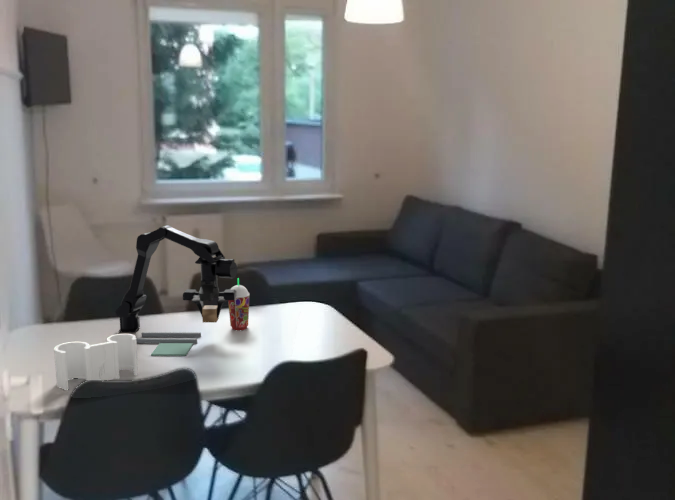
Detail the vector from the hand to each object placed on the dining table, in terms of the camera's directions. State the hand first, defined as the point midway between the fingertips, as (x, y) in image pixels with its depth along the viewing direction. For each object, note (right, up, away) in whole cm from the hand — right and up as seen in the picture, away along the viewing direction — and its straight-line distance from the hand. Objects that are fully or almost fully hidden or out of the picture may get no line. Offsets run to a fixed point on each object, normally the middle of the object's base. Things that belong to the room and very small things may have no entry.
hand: (210, 317), depth 272 cm
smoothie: (+8, -6, +15) cm, 18 cm away
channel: (-16, -8, +2) cm, 18 cm away
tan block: (0, -1, 0) cm, 1 cm away
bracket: (-29, -16, -37) cm, 50 cm away
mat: (-12, -11, -10) cm, 19 cm away
